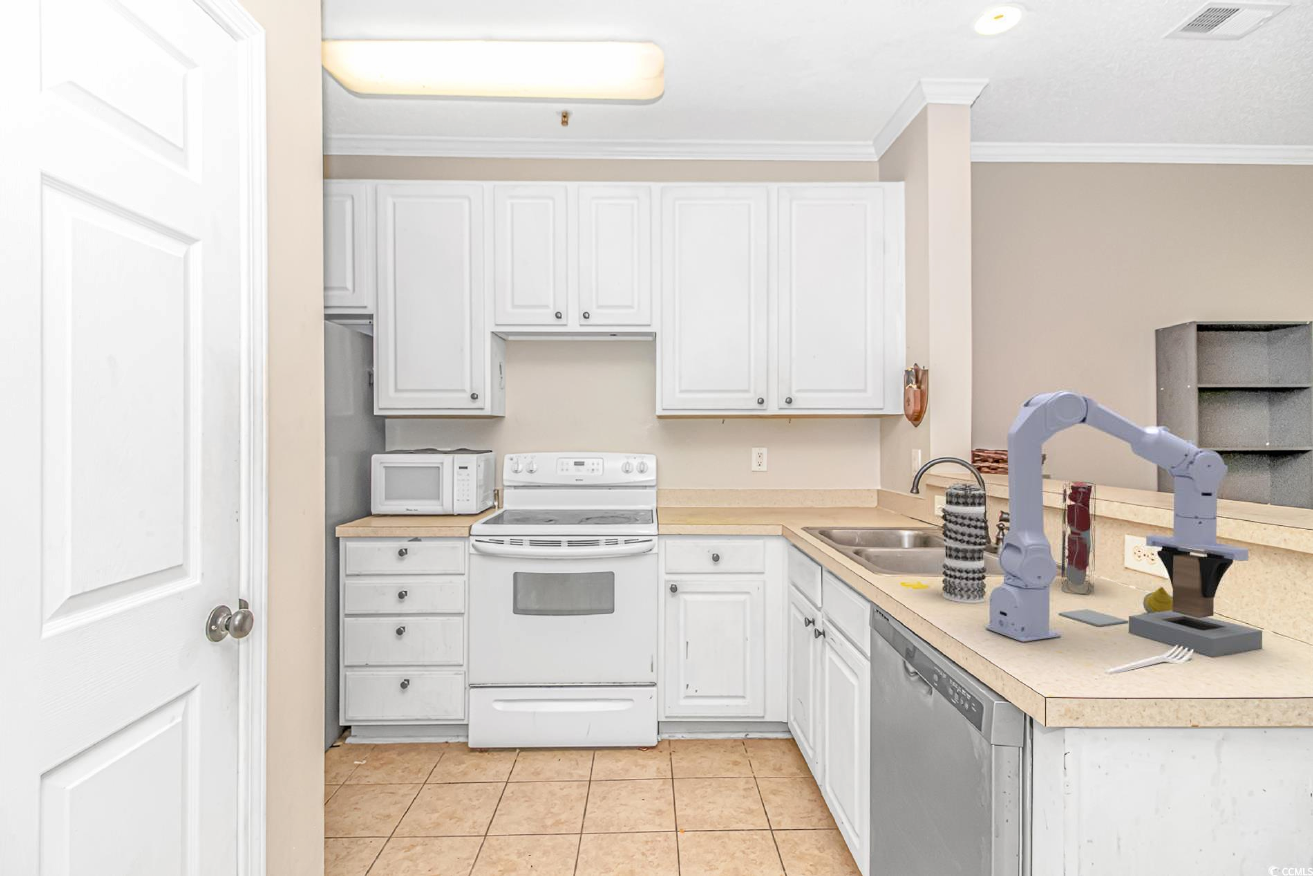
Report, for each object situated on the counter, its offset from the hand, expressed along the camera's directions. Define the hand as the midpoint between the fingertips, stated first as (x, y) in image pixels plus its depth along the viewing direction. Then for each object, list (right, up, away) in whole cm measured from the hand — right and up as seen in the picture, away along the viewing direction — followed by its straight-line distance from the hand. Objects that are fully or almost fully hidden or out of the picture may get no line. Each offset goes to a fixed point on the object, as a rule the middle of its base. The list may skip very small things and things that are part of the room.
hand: (1193, 593), depth 109 cm
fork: (-17, -9, -11) cm, 22 cm away
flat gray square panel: (-9, -8, +12) cm, 17 cm away
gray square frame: (0, -8, 0) cm, 8 cm away
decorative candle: (-27, -8, +27) cm, 39 cm away
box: (+3, -8, +33) cm, 35 cm away
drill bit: (+6, -8, +13) cm, 16 cm away
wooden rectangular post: (0, -4, 0) cm, 4 cm away
